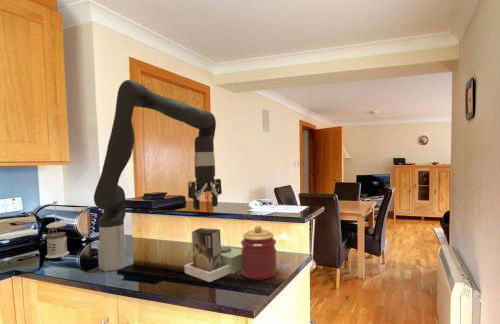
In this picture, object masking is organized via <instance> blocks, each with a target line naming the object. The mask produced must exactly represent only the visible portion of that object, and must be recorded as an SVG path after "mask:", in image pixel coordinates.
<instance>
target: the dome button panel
mask: <svg viewBox="0 0 500 324" xmlns="http://www.w3.org/2000/svg"><path fill="white" fill-rule="evenodd" d="M241 250H242V249H238V248H233V247H230V246H227V245H226V246H225V245H222V244H221V264H222V267H221V268H219V269H216V270H214V271H211V272H208V271H205V270H202V269H199V268H196V267H194V265H193V262H190V263H186V264H184V274H186V275H188V276H191V277H195V278H197V279H200V280H202V281H205V282H208V283H211V282H213V281H215V280H218V279H220V278H223V277H225V276H228V275H230V274H231V275H233V274H236V273H237V272H240V271H242V253H241Z"/></svg>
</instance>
